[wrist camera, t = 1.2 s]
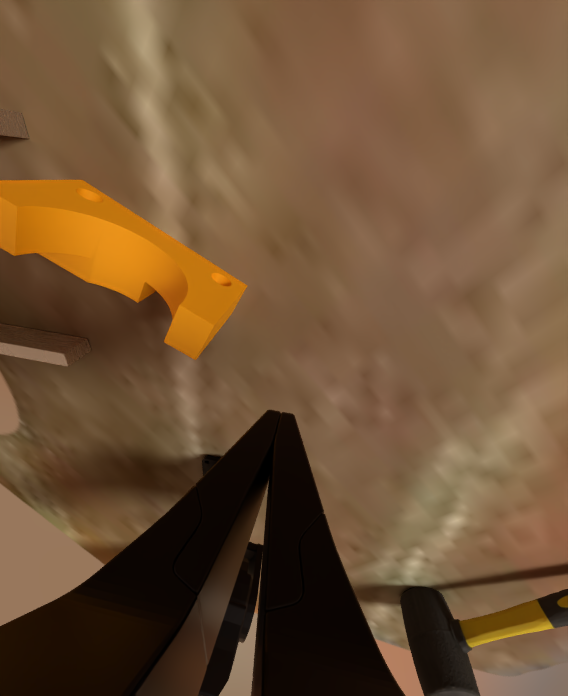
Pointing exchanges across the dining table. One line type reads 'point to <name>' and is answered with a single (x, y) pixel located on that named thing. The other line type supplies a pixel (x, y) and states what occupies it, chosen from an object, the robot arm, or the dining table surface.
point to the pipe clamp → (118, 254)
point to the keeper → (26, 339)
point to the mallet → (466, 635)
